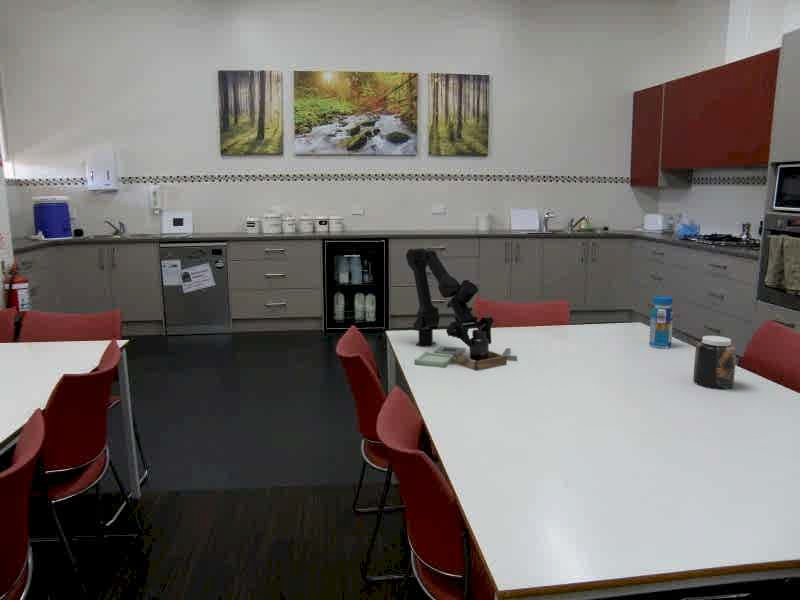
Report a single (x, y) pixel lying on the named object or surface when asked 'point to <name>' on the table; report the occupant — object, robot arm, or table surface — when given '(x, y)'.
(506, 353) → the crook tool
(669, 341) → the beverage bottle
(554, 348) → the table surface
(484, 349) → the supplement bottle
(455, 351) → the hole plate
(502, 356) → the u-shaped bracket
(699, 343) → the jar
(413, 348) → the table surface
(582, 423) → the table surface
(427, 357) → the tray
